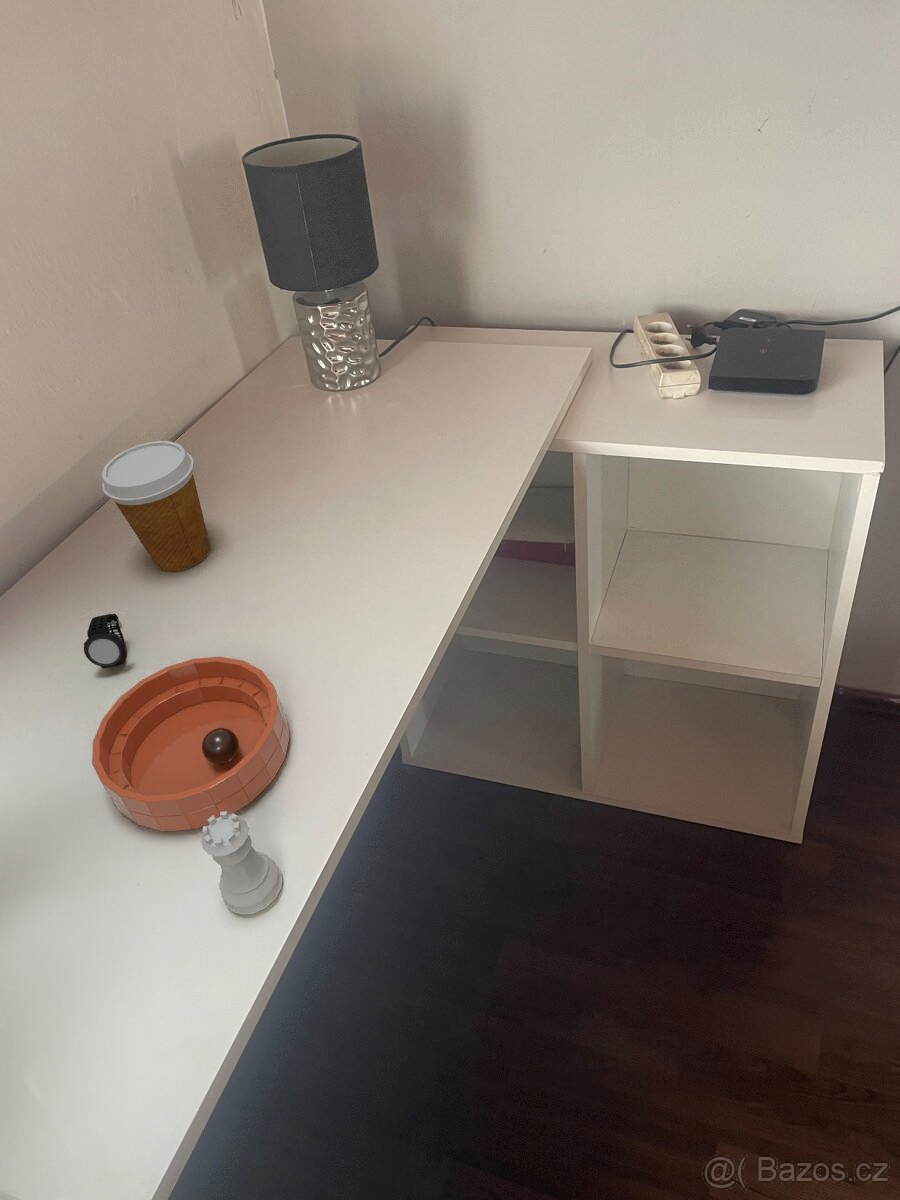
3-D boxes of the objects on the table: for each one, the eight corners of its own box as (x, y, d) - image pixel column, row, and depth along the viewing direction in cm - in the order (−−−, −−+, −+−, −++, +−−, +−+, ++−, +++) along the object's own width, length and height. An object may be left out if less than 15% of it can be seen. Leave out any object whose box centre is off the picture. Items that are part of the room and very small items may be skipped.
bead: (198, 767, 72) (234, 774, 72) (195, 748, 69) (232, 755, 69) (209, 737, 74) (244, 743, 74) (207, 718, 71) (242, 724, 71)
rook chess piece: (294, 892, 63) (264, 829, 58) (240, 930, 61) (204, 868, 56) (267, 851, 66) (236, 788, 61) (214, 886, 64) (177, 824, 59)
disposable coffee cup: (141, 541, 100) (99, 452, 92) (222, 520, 101) (188, 430, 93) (139, 591, 93) (94, 499, 85) (227, 567, 94) (190, 474, 86)
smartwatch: (89, 676, 83) (67, 639, 80) (116, 639, 87) (96, 602, 84) (127, 679, 82) (106, 641, 79) (152, 641, 86) (133, 604, 83)
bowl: (235, 853, 66) (217, 819, 63) (77, 813, 71) (53, 780, 68) (320, 706, 76) (307, 670, 73) (176, 680, 81) (159, 646, 78)
